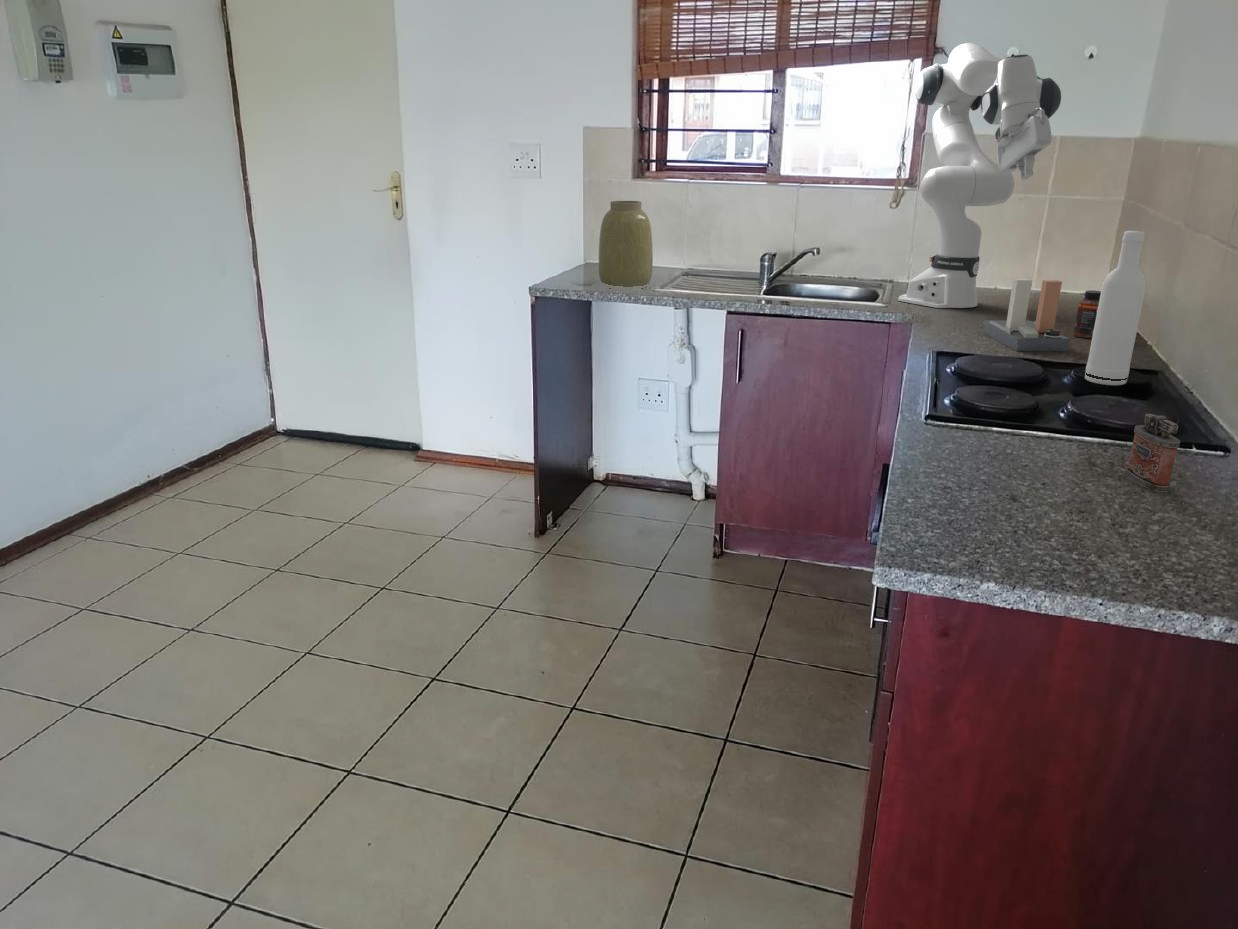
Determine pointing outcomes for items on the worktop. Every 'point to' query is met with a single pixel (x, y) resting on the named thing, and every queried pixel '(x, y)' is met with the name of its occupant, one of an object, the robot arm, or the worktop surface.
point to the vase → (625, 246)
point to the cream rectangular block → (1018, 304)
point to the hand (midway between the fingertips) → (1027, 177)
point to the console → (1018, 342)
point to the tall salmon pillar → (1048, 305)
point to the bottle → (1118, 315)
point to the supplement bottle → (1087, 314)
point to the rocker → (1028, 332)
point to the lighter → (1153, 453)
